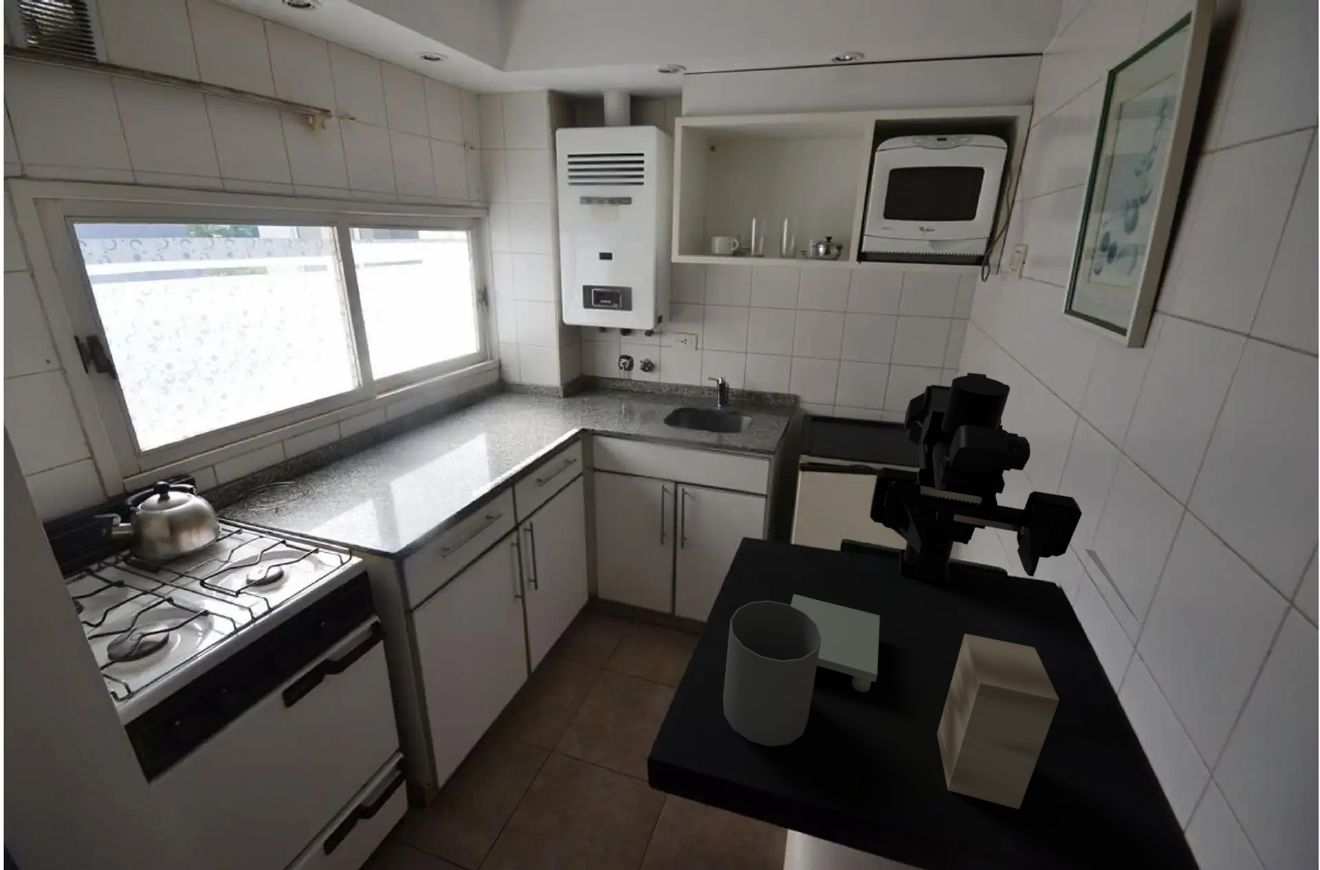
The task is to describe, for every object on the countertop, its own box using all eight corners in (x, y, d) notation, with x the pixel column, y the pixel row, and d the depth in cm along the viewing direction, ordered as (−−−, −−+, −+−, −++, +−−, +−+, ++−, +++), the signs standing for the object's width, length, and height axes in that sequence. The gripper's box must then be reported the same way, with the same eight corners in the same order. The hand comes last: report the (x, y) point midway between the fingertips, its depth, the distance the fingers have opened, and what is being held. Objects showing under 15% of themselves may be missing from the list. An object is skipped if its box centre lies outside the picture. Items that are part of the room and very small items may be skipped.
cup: (715, 732, 53) (723, 648, 50) (729, 670, 61) (736, 594, 57) (806, 755, 51) (820, 670, 48) (809, 688, 59) (821, 610, 55)
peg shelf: (790, 614, 70) (793, 594, 69) (875, 636, 67) (879, 615, 66) (776, 668, 61) (778, 646, 60) (872, 697, 58) (877, 674, 57)
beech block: (936, 733, 54) (964, 633, 50) (1000, 749, 52) (1034, 647, 48) (947, 789, 49) (980, 682, 44) (1019, 809, 47) (1059, 700, 43)
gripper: (887, 400, 64) (884, 471, 51) (1079, 424, 58) (1129, 511, 45) (872, 481, 69) (865, 563, 57) (1046, 511, 63) (1082, 609, 51)
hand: (975, 561), depth 52 cm, fingers open, 9 cm apart
